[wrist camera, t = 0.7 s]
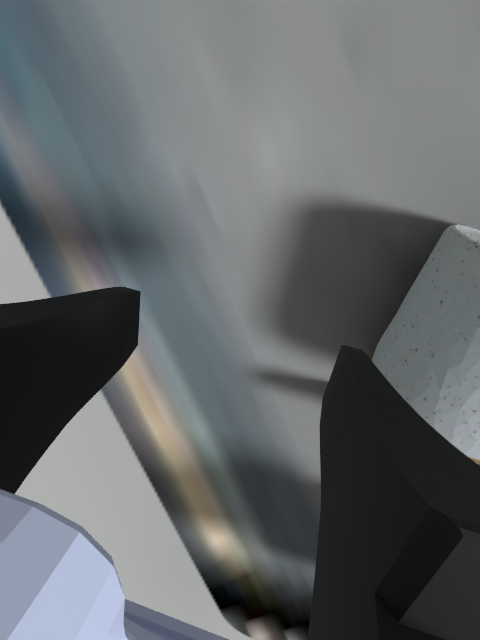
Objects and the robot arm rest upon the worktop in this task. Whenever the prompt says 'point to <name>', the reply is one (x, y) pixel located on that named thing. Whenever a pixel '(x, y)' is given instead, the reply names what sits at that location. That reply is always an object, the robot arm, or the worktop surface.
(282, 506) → the worktop surface
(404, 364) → the ceramic mug
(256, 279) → the worktop surface
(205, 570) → the worktop surface
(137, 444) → the worktop surface
